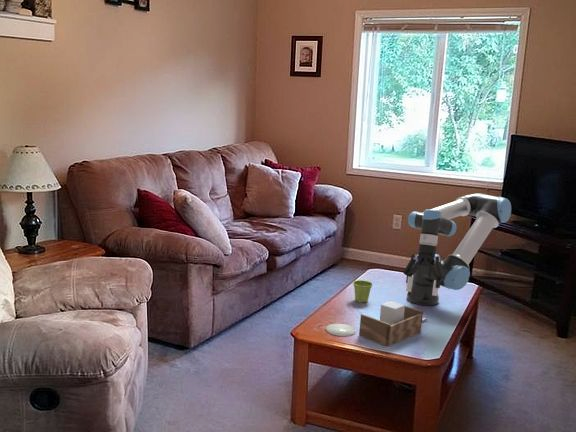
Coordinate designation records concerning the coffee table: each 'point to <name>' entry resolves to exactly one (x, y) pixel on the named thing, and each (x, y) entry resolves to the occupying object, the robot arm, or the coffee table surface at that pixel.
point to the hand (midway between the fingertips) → (421, 293)
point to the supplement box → (392, 312)
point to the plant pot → (362, 290)
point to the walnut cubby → (391, 327)
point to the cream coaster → (340, 330)
